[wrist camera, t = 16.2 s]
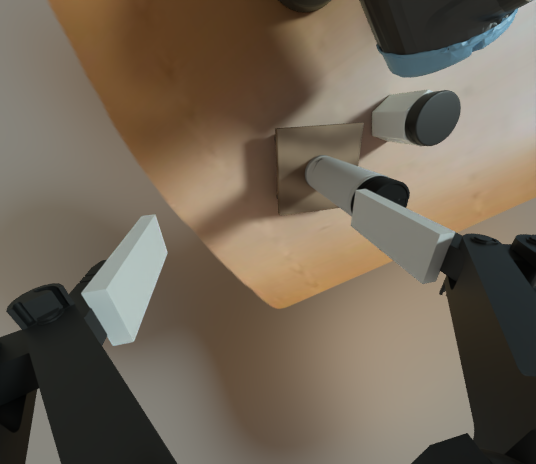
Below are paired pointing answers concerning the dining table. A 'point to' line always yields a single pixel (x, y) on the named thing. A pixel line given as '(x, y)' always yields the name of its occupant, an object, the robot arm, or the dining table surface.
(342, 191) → the travel mug
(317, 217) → the dining table surface
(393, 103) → the jar
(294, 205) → the peg shelf
